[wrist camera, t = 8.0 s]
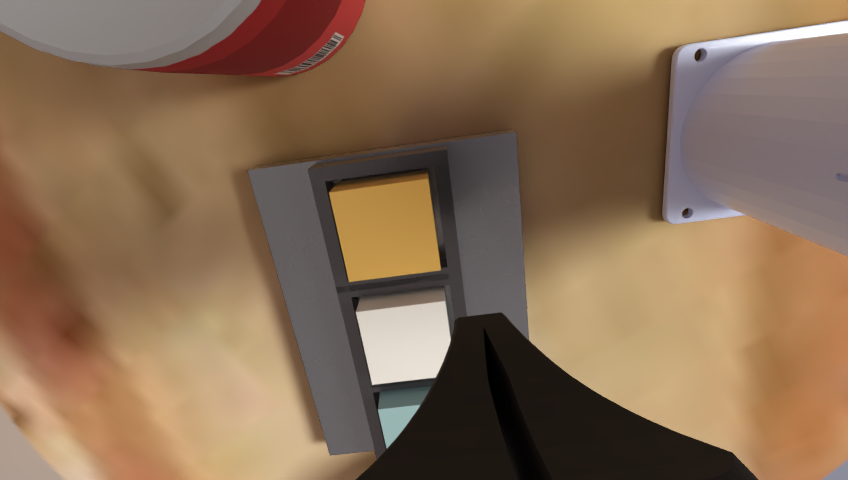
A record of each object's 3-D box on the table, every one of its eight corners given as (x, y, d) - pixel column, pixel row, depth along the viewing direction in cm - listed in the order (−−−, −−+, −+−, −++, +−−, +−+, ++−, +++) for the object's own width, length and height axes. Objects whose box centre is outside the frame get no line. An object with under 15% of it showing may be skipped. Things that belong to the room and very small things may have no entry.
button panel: (510, 129, 19) (523, 135, 17) (529, 417, 25) (541, 453, 23) (257, 165, 20) (234, 177, 17) (334, 439, 26) (324, 476, 23)
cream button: (443, 281, 20) (445, 301, 18) (452, 350, 22) (455, 375, 20) (361, 291, 20) (355, 312, 19) (376, 359, 22) (372, 384, 20)
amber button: (427, 168, 18) (428, 178, 17) (439, 252, 20) (440, 270, 18) (338, 181, 19) (328, 192, 17) (356, 263, 20) (349, 281, 18)
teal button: (456, 373, 22) (459, 400, 20) (464, 431, 24) (467, 461, 22) (381, 382, 22) (377, 409, 21) (393, 439, 24) (391, 469, 22)
